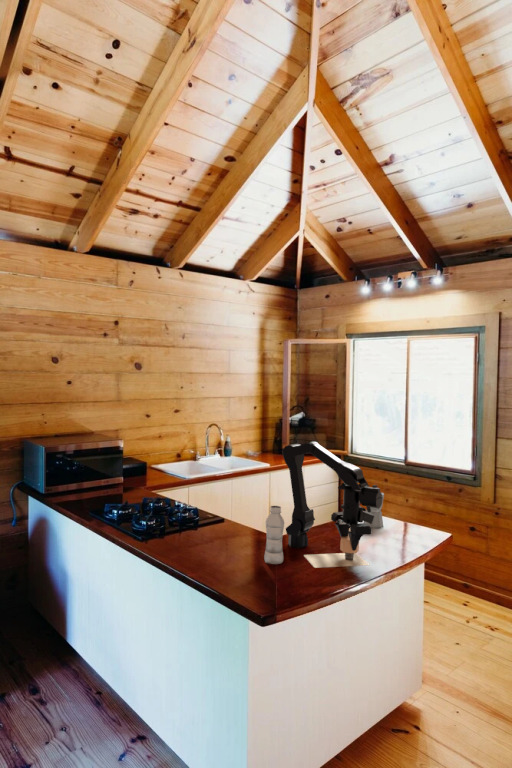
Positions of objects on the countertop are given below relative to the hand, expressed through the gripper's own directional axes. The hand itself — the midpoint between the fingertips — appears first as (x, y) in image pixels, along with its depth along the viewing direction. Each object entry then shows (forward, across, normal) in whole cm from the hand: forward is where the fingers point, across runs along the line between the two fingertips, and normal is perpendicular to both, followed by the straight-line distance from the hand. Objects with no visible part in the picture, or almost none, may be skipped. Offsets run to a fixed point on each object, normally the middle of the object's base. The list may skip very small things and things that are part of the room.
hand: (349, 547), depth 176 cm
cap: (+1, 0, 0) cm, 1 cm away
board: (+6, 0, +5) cm, 8 cm away
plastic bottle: (+6, +4, +27) cm, 28 cm away
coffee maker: (+6, +38, -33) cm, 51 cm away
